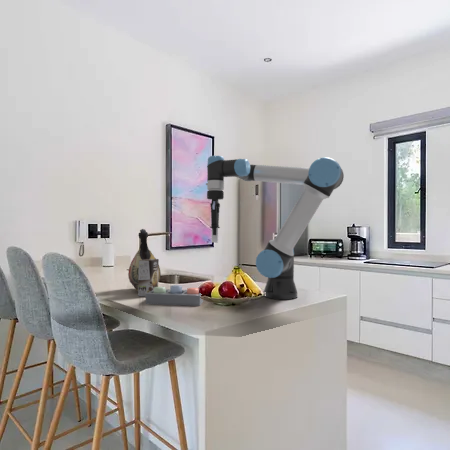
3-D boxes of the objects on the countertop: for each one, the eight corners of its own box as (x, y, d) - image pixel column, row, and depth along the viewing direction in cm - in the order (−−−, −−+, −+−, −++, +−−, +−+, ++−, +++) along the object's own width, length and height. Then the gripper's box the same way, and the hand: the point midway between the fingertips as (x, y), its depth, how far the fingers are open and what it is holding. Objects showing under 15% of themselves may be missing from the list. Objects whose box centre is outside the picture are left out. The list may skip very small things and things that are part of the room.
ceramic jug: (128, 288, 178) (129, 228, 178) (159, 287, 182) (160, 229, 182) (127, 294, 162) (128, 228, 162) (161, 293, 166) (162, 229, 166)
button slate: (183, 294, 149) (183, 285, 149) (180, 297, 144) (180, 287, 144) (171, 294, 150) (172, 285, 150) (169, 296, 145) (169, 286, 145)
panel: (204, 299, 152) (204, 290, 152) (199, 305, 140) (199, 295, 140) (154, 298, 154) (154, 288, 154) (145, 303, 142) (145, 293, 142)
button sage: (166, 296, 150) (166, 286, 150) (163, 298, 145) (163, 288, 145) (155, 295, 150) (155, 286, 150) (152, 298, 145) (152, 288, 145)
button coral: (199, 297, 148) (199, 287, 148) (197, 299, 144) (197, 289, 144) (188, 297, 149) (188, 287, 149) (185, 299, 144) (185, 289, 144)
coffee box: (151, 296, 156) (151, 260, 157) (137, 296, 158) (138, 260, 158) (158, 293, 165) (159, 258, 166) (145, 292, 167) (146, 258, 167)
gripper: (209, 192, 168) (208, 241, 167) (205, 188, 155) (204, 242, 154) (224, 192, 167) (224, 242, 167) (222, 188, 154) (221, 243, 154)
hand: (214, 242), depth 160 cm, fingers closed
